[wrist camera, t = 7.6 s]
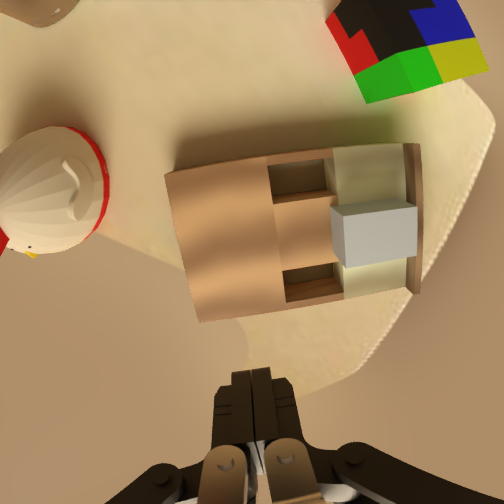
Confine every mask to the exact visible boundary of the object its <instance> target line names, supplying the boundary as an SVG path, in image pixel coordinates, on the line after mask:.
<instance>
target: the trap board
mask: <svg viewBox="0 0 504 504" xmlns="http://www.w3.org/2000/svg"><path fill="white" fill-rule="evenodd" d="M322 158H323V163H324V171H325V180H326V189H323V190H316V191H308V192H301V193H294V194H287V195H280V196H273V197H272V195H271V188H270V181H269V175H268V168H267V165H274V164H282V163H289V162H297V161H305V160H313V159H322ZM164 177H165V182H166V187H167V192H168V197H169V202H170V207H171V211H172V216H173V220H174V225H175V229H176V234H177V238H178V243H179V247H180V251H181V255H182V260H183V264H184V268H185V272H186V275H187V280H188V284H189V288H190V291H191V295H192V299H193V303H194V306H195V310H196V314H197V318H198V321H199V323H200V322H208V321H215V320H223V319H229V318H237V317H244V316H251V315H258V314H264V313H270V312H277V311H283V310H289V309H295V308H300V307H306V306H312V305H317V304H323V303H328V302H333V301H339V300H344V299H349V298H354V297H359V296H364V295H369V294H373V293H378V292H383V291H387V290H392V289H397V288H401V287H406V288H407V289H408V290H409V291H410V292H411V293H412V294H413V295H414V294H418V293H420V286H421V273H422V255H423V182H422V164H421V151H420V144H414V143H395V142H388V143H371V144H357V145H345V146H334V147H324V148H314V149H305V150H297V151H289V152H281V153H274V154H266V155H260V156H253V157H246V158H240V159H234V160H228V161H222V162H217V163H211V164H206V165H200V166H195V167H190V168H185V169H180V170H175V171H172V172H170V173H167V174H165V175H164ZM393 198H398V199H401V200H403V201H405V202H408V203H410V204H413V205H415V206H417V256H412V257H407V258H402V259H396V260H391V261H386V262H380V263H375V264H369V265H364V266H358V267H352V268H347V269H346V268H345V267H344V266H343V264H342V263H341V262H340V261H339V259H338V258H337V257H336V256H335V254H334V253H333V242H332V229H331V217H330V206H337V205H344V204H352V203H360V202H368V201H376V200H384V199H393ZM332 262H333V276H334V277H330V278H324V279H318V280H312V281H307V282H301V283H295V284H289V285H284V283H283V276H282V271H284V270H290V269H297V268H303V267H309V266H315V265H321V264H326V263H332Z"/></svg>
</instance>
